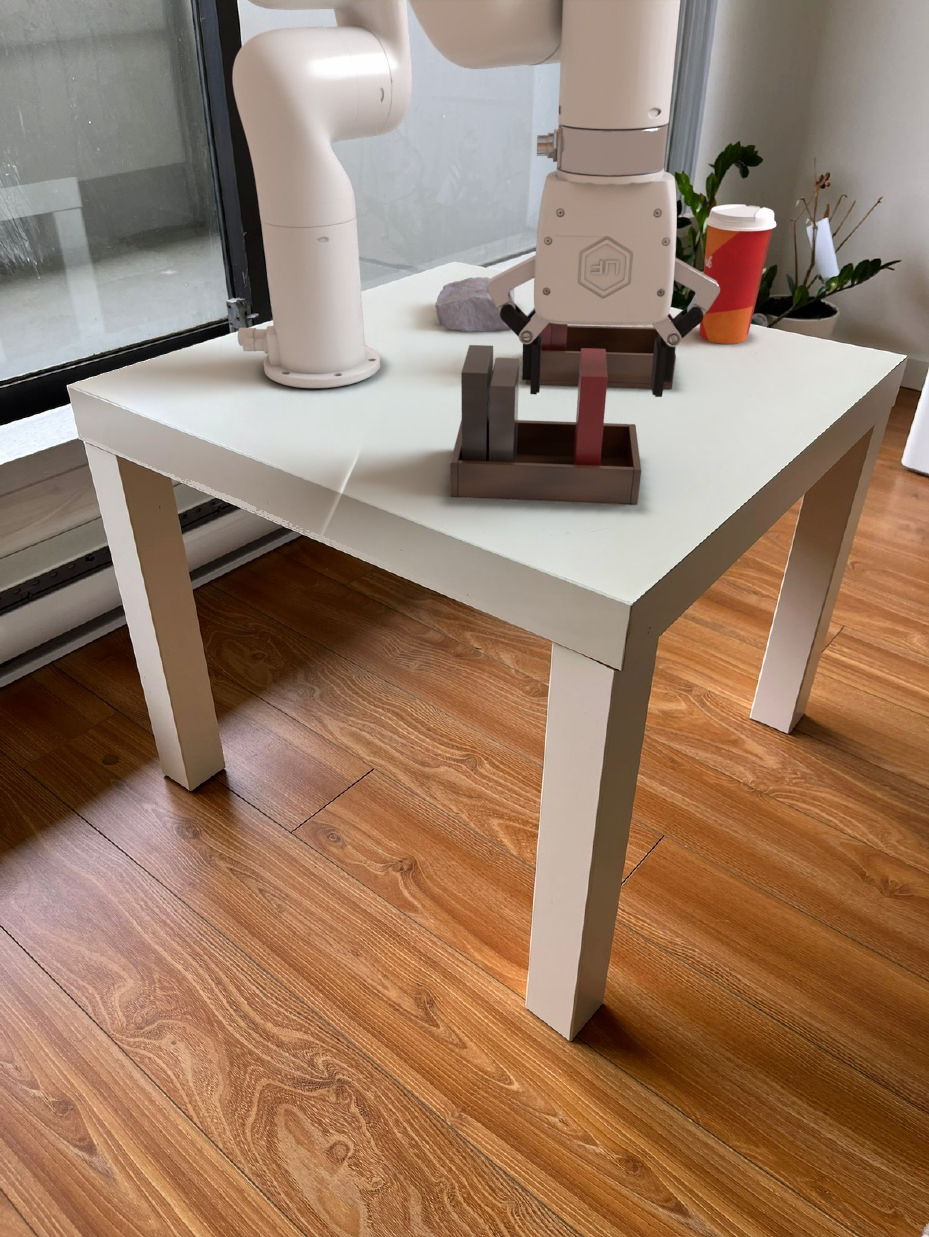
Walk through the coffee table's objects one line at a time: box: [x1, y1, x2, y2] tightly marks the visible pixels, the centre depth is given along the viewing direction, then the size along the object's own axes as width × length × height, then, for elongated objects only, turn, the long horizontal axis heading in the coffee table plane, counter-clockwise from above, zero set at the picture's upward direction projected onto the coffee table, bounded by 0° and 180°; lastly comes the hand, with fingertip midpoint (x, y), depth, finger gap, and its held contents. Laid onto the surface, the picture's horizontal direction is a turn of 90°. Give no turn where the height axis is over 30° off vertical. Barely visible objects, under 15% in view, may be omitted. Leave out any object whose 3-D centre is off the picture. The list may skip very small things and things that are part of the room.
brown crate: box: [449, 344, 642, 506], centre depth 77 cm, size 15×9×10 cm, turn 84°
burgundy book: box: [573, 348, 608, 466], centre depth 77 cm, size 2×6×10 cm, turn 174°
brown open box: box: [525, 323, 677, 390], centre depth 99 cm, size 15×9×10 cm, turn 84°
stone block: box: [434, 276, 515, 333], centre depth 117 cm, size 12×5×10 cm
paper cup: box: [699, 203, 777, 345], centre depth 107 cm, size 8×8×14 cm
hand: (595, 389), depth 75 cm, fingers open, 9 cm apart
